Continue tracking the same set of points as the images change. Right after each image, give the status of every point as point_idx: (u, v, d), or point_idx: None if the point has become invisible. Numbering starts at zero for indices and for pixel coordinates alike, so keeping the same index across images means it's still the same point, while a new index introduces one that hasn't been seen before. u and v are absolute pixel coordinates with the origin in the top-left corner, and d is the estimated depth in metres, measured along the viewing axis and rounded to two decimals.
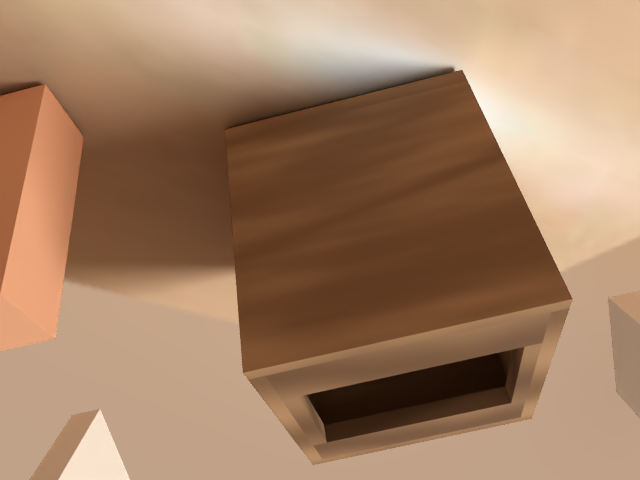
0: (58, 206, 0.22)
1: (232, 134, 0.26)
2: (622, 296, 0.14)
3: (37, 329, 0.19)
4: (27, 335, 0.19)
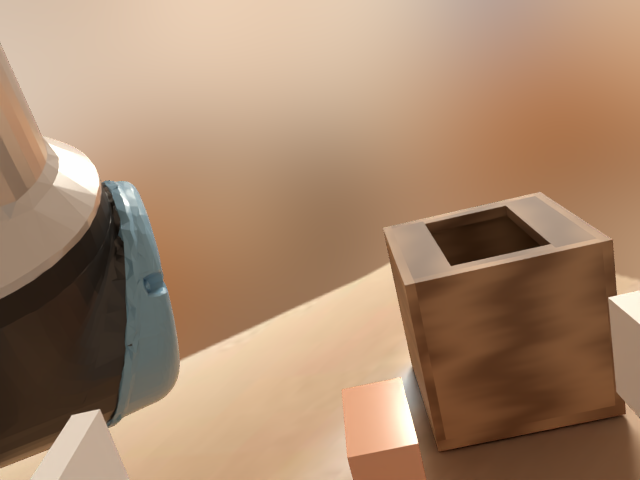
0: None
1: (436, 442, 0.37)
2: (622, 296, 0.14)
3: (385, 382, 0.28)
4: (391, 387, 0.28)
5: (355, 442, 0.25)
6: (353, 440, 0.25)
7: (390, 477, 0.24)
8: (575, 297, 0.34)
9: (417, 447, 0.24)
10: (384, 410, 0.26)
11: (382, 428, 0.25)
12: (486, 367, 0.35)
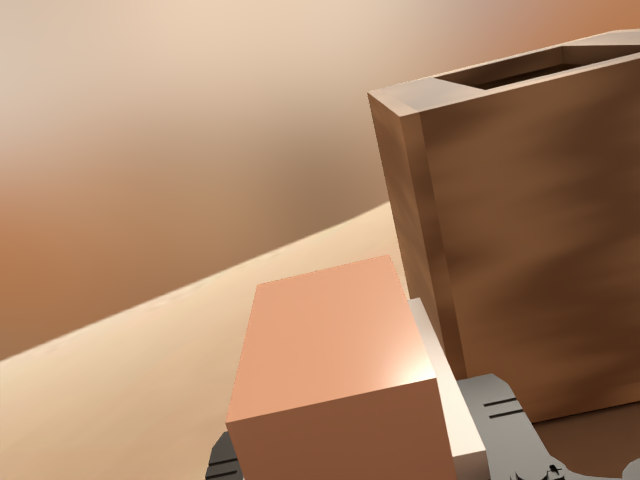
0: None
1: None
2: None
3: (355, 265, 0.12)
4: (367, 271, 0.12)
5: (257, 384, 0.09)
6: (253, 378, 0.09)
7: None
8: None
9: (433, 390, 0.08)
10: (347, 313, 0.10)
11: (336, 347, 0.09)
12: (550, 281, 0.19)
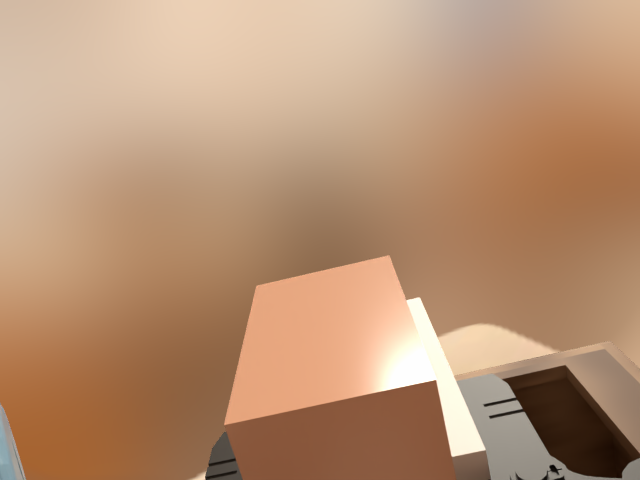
0: None
1: None
2: None
3: (355, 266, 0.12)
4: (367, 272, 0.12)
5: (256, 386, 0.09)
6: (253, 380, 0.09)
7: None
8: None
9: (433, 392, 0.08)
10: (346, 314, 0.10)
11: (334, 349, 0.09)
12: None
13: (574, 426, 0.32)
